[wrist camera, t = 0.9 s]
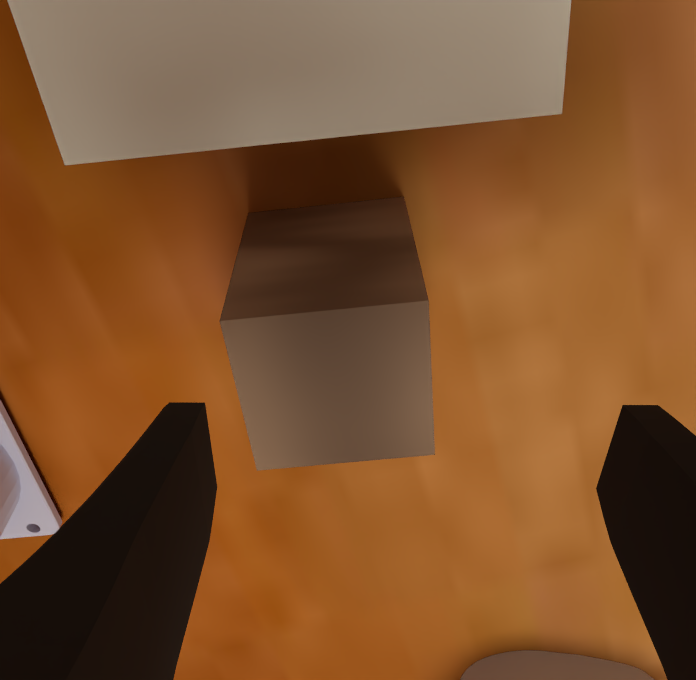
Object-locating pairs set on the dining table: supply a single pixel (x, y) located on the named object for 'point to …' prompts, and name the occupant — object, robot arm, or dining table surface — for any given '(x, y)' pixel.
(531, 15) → the base block
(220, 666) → the dining table surface
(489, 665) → the lumpy-topped squat cylinder
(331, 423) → the walnut block
